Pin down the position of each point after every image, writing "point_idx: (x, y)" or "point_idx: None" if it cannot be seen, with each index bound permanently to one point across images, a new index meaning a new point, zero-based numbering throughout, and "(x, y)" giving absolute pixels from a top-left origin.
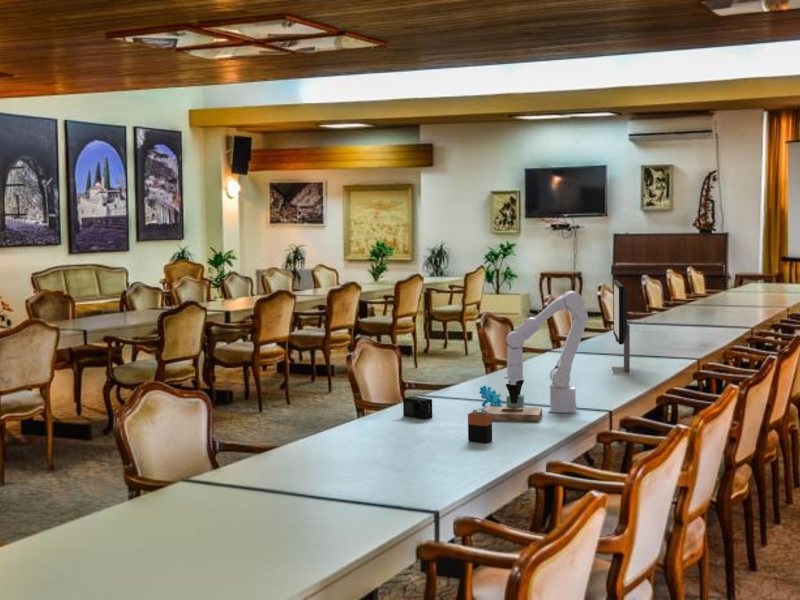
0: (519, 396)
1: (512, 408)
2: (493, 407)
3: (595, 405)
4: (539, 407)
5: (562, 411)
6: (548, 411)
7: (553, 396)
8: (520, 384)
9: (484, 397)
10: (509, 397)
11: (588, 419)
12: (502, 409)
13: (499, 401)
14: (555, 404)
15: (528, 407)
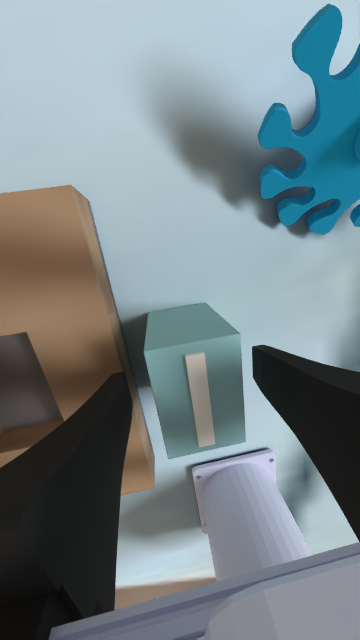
0: (172, 437)
1: (68, 382)
2: (46, 254)
3: (337, 526)
4: (149, 480)
5: (198, 507)
6: (194, 469)
7: (224, 565)
8: (343, 493)
9: (305, 71)
10: (149, 369)
11: (118, 576)
12: (21, 331)
13: (357, 213)
14: (209, 520)
15: (132, 442)
